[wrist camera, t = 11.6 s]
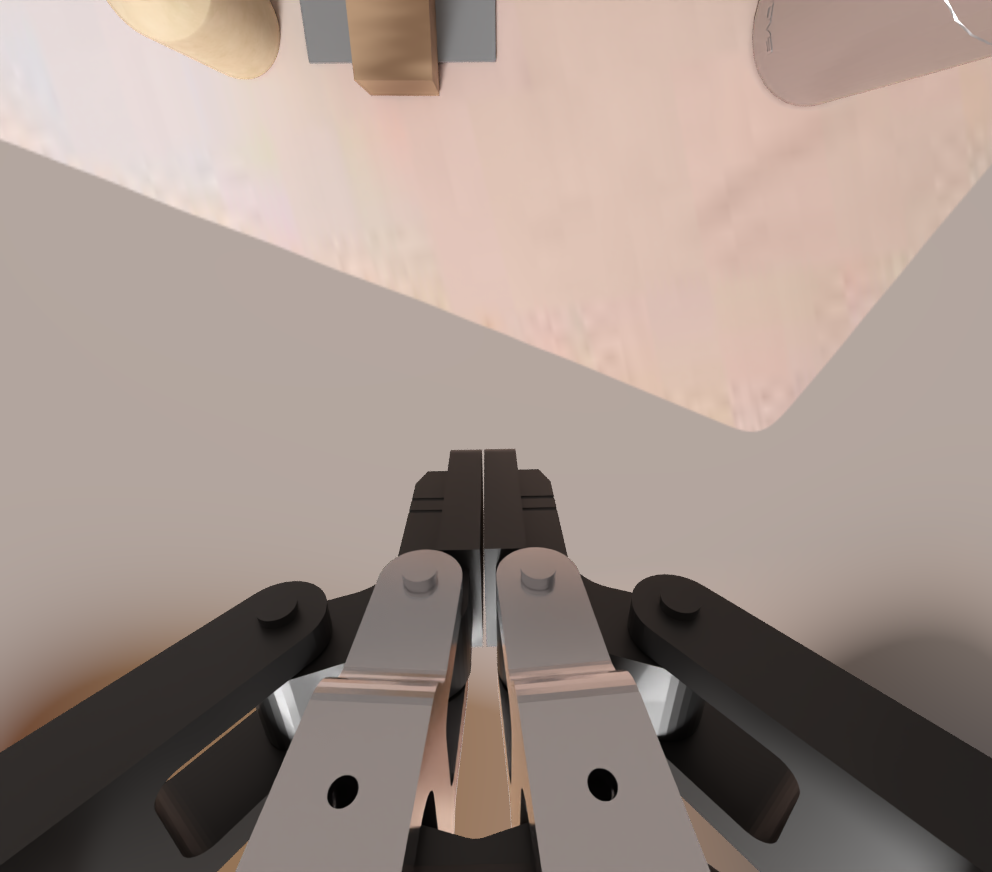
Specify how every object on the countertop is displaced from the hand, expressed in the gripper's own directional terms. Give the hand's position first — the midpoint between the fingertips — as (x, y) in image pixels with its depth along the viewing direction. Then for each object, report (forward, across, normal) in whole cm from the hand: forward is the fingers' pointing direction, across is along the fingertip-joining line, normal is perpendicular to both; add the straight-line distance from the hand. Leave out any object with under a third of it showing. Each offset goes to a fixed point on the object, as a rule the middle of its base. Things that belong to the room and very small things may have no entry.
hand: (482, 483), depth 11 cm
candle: (+29, +15, -16) cm, 37 cm away
